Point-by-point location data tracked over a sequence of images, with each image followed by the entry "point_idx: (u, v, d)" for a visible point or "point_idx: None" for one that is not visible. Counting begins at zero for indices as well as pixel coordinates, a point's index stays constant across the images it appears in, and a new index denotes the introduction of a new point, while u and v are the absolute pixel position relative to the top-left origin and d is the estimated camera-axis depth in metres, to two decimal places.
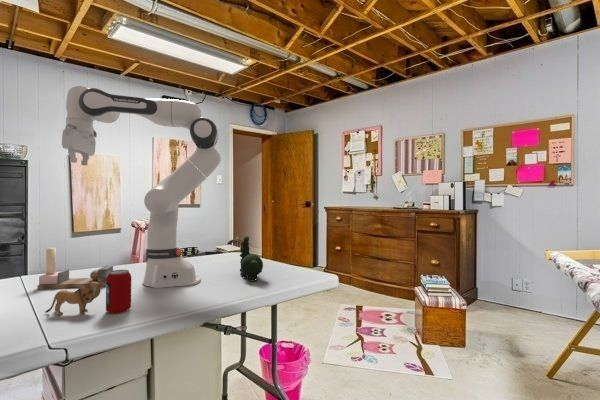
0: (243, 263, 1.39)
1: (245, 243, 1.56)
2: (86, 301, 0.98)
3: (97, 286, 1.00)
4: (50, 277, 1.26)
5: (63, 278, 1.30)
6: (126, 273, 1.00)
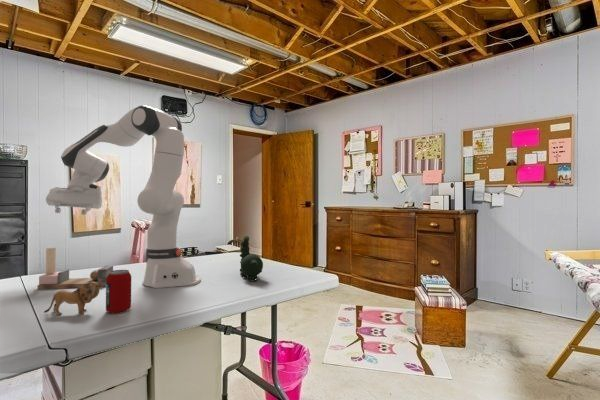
0: (243, 263, 1.39)
1: (245, 243, 1.56)
2: (85, 301, 0.98)
3: (96, 286, 1.00)
4: (50, 277, 1.26)
5: (63, 278, 1.30)
6: (126, 273, 1.00)
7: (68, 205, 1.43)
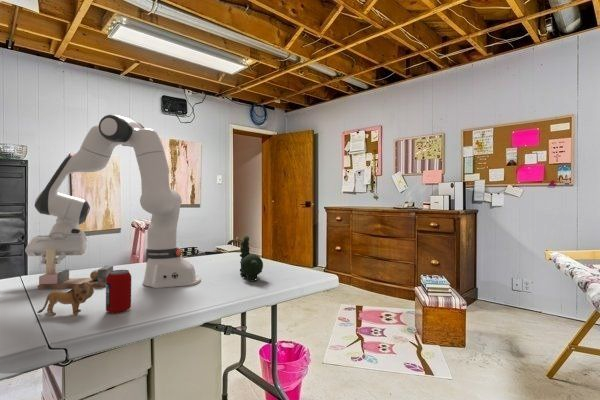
0: (243, 263, 1.39)
1: (245, 243, 1.56)
2: (79, 301, 0.98)
3: (91, 286, 1.00)
4: (50, 277, 1.26)
5: (63, 278, 1.30)
6: (126, 273, 1.00)
7: None
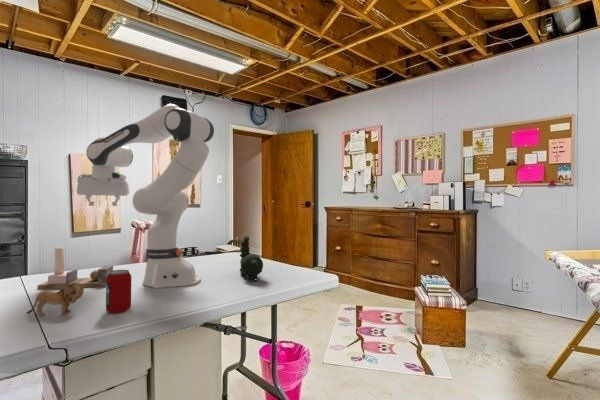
0: (243, 263, 1.39)
1: (245, 243, 1.56)
2: (69, 302, 0.97)
3: (81, 286, 0.99)
4: (58, 277, 1.27)
5: (72, 278, 1.30)
6: (126, 273, 1.00)
7: None
